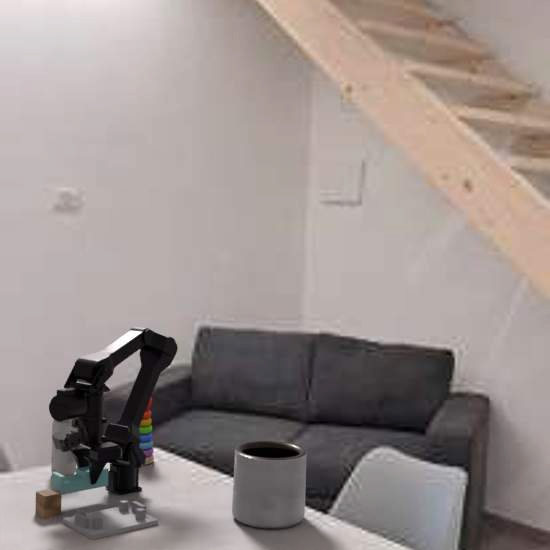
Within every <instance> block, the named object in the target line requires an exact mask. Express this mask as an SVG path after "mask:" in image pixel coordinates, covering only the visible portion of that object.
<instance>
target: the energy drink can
mask: <svg viewBox="0 0 550 550" xmlns="http://www.w3.org/2000/svg"><path fill="white" fill-rule="evenodd" d="M51 425H52V428H51V429H52V430H51V431H52V432H51V436H52V435H53V434H54V433H56V432H58V431H60V430H62V429H64V428H66V427H69V426H71V425H72V419H70V420H66V421H62V422H58V421H56V420H54V419H53V421H52V424H51ZM50 466H51V467H50V469H51V470H50V471H51V473H52V472H57V473H60V474H62V475H64V476H65V477H67V476H72V475H75V474H76V468H77V464H76V461H75V458H74V456H73V455H72V454H71V453H70V452H69V451H67V452H62V451H61V450H59V449H56V448H55V445H54V442H53V439H52V438H51V465H50Z"/></svg>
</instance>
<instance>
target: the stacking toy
mask: <svg viewBox="0 0 550 550" xmlns="http://www.w3.org/2000/svg"><path fill="white" fill-rule="evenodd" d="M152 403H153V398H152V396H151V398H150V401H149V403H148V406H147V408H146V411H145V414H144V416H143V419H142V421H141V424H140V426H139V431H140V437H141V442H140V446H139V447H140V449H141V450H142V451H143V452H144V454H145V455H146V460H145V464H144V465H143V466H145V465H149V464H152V463H153V462H154V460H155V457H154V448H153V446H154V441H153V433H152V431H153V426H152V418H151V416H152V411H151V410H150V409H149V408H151V406H152Z"/></svg>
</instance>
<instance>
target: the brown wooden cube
mask: <svg viewBox="0 0 550 550" xmlns="http://www.w3.org/2000/svg"><path fill="white" fill-rule="evenodd" d="M62 496H63V494H62V493H60V492H58V491H56V490H55V489H53V488H52V487H51V488H48V489H42V490H37V491H35V513H34V514H35V515H36V514H37V515H36V516H38V515H39V516H38V517H40V516H41V517H40V518H42V519H43V518H44V519H43V520H47V519H51V518H50V517H52V518H55V517H54V516H57V517H60V516H59V515H61V516H62ZM46 518H47V519H46Z"/></svg>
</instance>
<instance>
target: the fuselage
mask: <svg viewBox="0 0 550 550" xmlns="http://www.w3.org/2000/svg"><path fill="white" fill-rule="evenodd" d="M109 470H110V467H109V468H108V467H106V466H105V467H104V469H103V471H102V472H101V474H100V476H99V478H98V480H97V482H96V484H93V485H92V484H91V482H90V473H89V466H87V467H81V468H77V467H76V472H75V474H74V475H72V476H67V477H65V476H64V475H62V474H60V473H57V472H51V489H52V488H53V489H55V490H56V491H58V492H60V493H62V495H66V494H72V493H77V492H82V491H87V490H93V489H97V488H98V489H99V488H102V487H106V486H108V471H109Z"/></svg>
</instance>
